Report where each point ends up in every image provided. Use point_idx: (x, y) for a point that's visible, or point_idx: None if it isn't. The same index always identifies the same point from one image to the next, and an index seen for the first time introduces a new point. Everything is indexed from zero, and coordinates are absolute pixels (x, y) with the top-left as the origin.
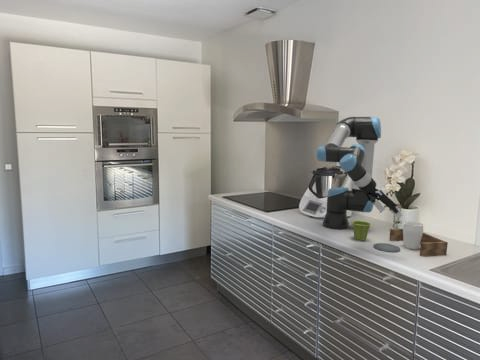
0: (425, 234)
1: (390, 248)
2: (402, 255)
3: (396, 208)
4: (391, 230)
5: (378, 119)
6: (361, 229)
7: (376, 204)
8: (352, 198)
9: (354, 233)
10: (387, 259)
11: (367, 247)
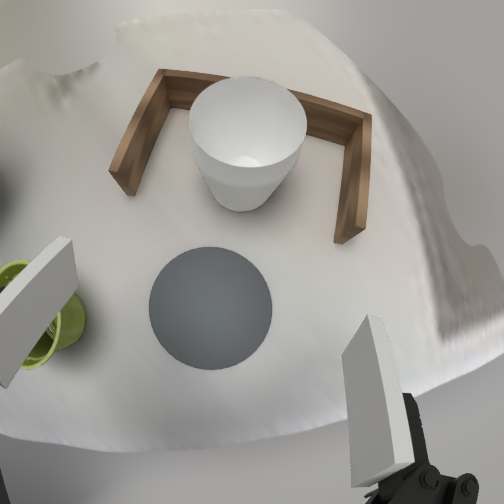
0: None
1: (232, 308)
2: (312, 318)
3: (402, 414)
4: (119, 173)
5: None
6: (57, 347)
7: (15, 351)
8: None
9: (43, 348)
10: (325, 417)
11: (168, 388)
